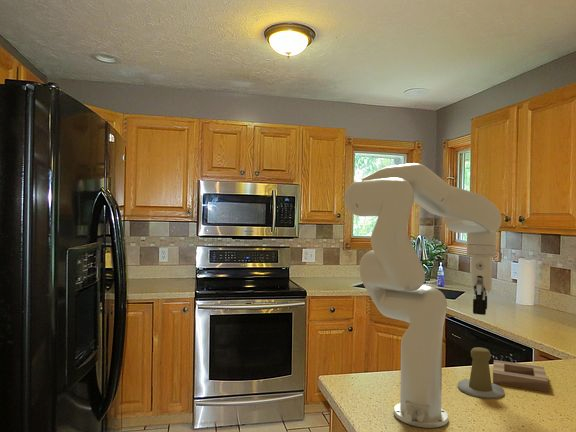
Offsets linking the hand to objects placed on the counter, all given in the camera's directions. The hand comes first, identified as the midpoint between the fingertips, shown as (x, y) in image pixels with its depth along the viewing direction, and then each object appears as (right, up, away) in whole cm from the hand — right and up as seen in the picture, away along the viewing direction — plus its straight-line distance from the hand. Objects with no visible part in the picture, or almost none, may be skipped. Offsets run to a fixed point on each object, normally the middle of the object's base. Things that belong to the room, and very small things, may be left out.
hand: (480, 311), depth 120 cm
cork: (0, -22, -1) cm, 22 cm away
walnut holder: (+16, -23, +8) cm, 29 cm away
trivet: (0, -22, 0) cm, 22 cm away
